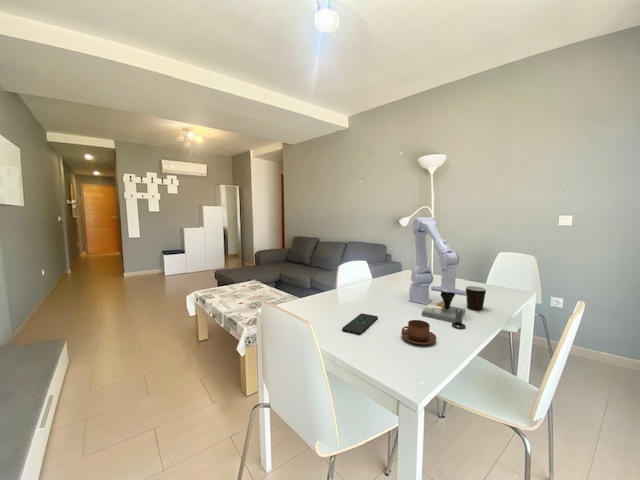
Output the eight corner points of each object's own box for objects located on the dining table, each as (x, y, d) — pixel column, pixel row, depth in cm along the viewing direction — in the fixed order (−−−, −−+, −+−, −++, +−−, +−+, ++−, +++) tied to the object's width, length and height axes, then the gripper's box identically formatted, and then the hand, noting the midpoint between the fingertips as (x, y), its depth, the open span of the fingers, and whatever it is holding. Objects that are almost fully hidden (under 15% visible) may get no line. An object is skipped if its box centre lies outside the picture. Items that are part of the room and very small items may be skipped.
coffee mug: (468, 304, 140) (468, 285, 139) (487, 308, 134) (488, 288, 133) (459, 310, 132) (460, 289, 131) (479, 314, 126) (480, 293, 125)
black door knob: (450, 327, 112) (450, 310, 111) (453, 323, 116) (454, 307, 115) (463, 330, 109) (464, 312, 108) (466, 326, 113) (467, 309, 112)
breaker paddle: (437, 309, 127) (437, 303, 127) (438, 308, 129) (438, 302, 128) (444, 310, 125) (444, 305, 125) (445, 309, 127) (445, 304, 127)
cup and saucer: (417, 350, 93) (417, 332, 93) (394, 336, 104) (394, 320, 104) (443, 343, 98) (444, 326, 97) (419, 331, 109) (419, 315, 108)
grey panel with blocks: (421, 315, 125) (422, 305, 125) (433, 306, 137) (434, 297, 137) (455, 323, 116) (455, 312, 115) (464, 313, 128) (465, 303, 128)
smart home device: (378, 316, 122) (360, 332, 105) (378, 319, 122) (360, 336, 105) (361, 312, 126) (341, 327, 109) (361, 316, 126) (341, 332, 109)
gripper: (428, 278, 126) (428, 307, 127) (463, 283, 116) (462, 314, 118) (434, 275, 131) (433, 303, 132) (467, 280, 122) (466, 310, 123)
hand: (447, 308), depth 125 cm, fingers closed
